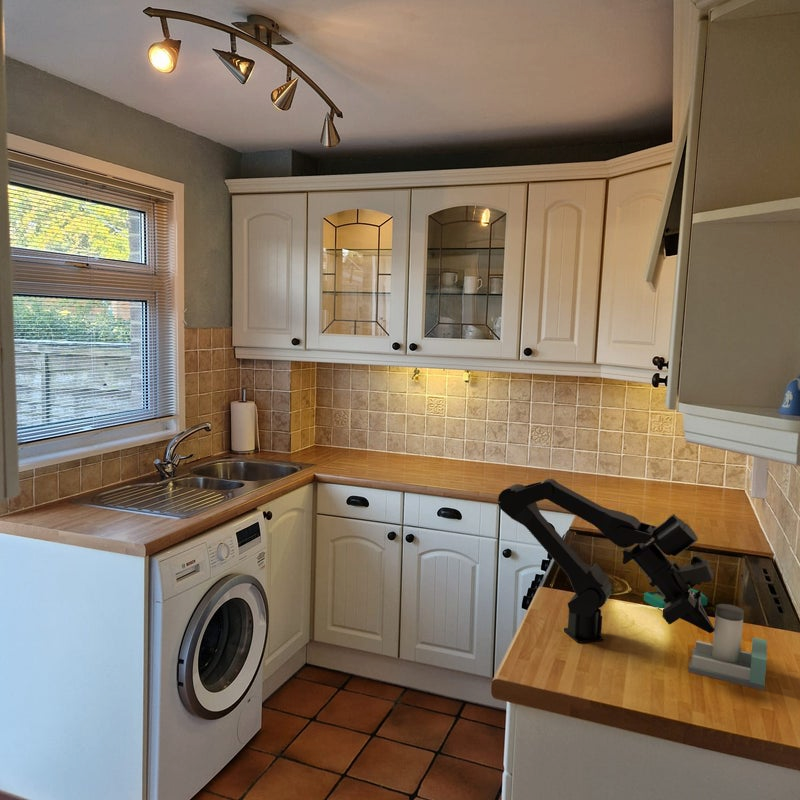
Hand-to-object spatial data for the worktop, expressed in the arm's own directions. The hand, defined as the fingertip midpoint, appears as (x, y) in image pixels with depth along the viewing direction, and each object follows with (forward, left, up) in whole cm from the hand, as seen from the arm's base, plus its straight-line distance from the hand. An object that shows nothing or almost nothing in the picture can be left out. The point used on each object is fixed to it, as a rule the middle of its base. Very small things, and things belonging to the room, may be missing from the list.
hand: (712, 631), depth 136 cm
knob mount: (+2, -2, -7) cm, 8 cm away
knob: (+2, -2, -6) cm, 7 cm away
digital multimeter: (+16, +30, -8) cm, 35 cm away
